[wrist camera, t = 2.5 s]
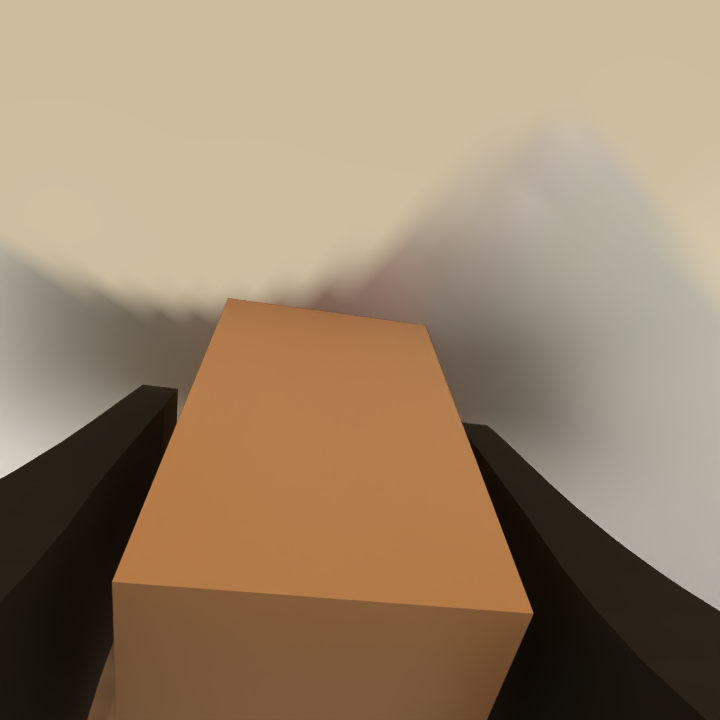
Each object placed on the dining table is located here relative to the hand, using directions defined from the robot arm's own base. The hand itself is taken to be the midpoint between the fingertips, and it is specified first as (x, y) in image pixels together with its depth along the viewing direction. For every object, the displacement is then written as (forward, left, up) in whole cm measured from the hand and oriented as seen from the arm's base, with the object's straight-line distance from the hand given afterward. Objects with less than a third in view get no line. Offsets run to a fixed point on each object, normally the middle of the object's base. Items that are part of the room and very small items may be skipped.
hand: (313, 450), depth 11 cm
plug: (0, 0, -2) cm, 2 cm away
